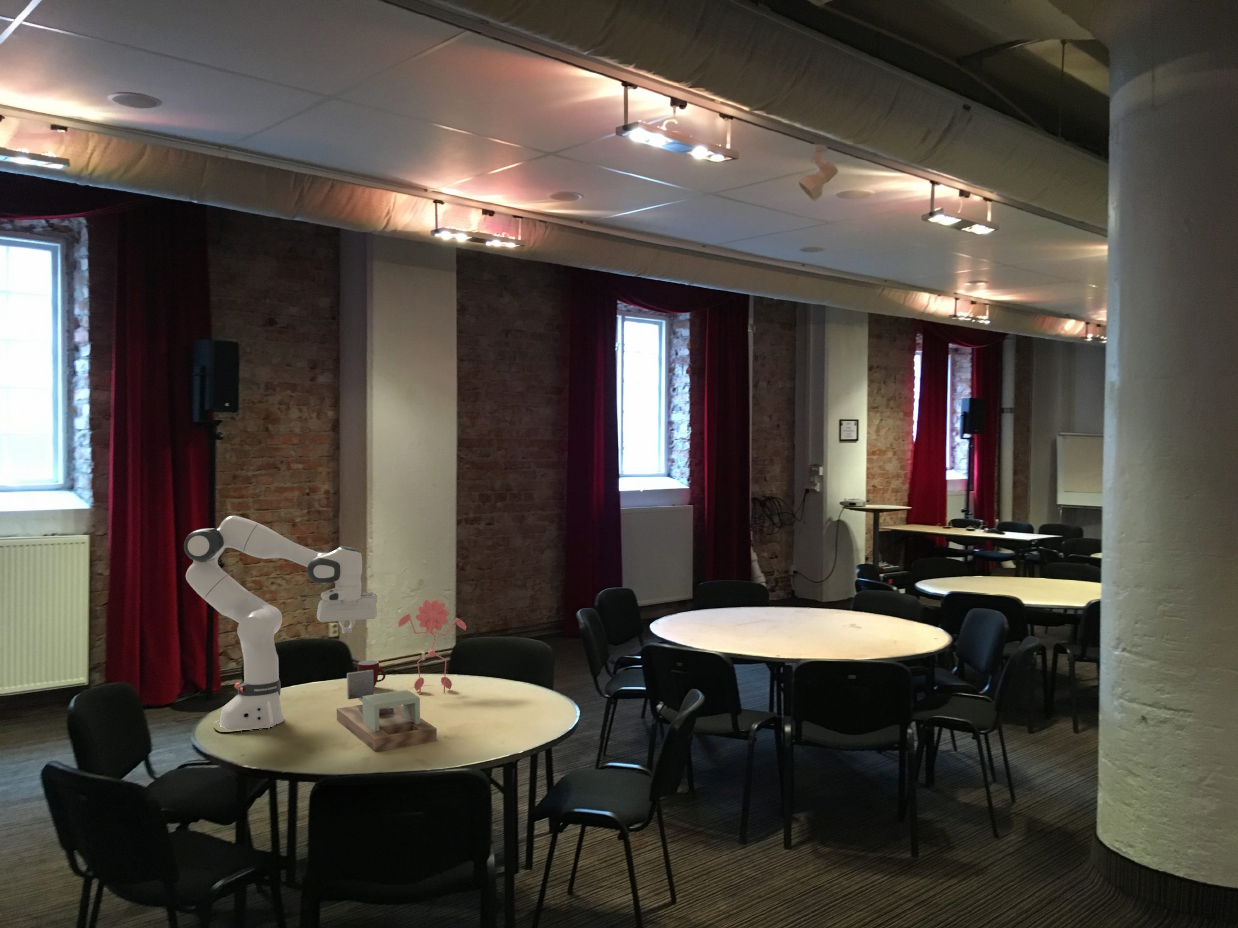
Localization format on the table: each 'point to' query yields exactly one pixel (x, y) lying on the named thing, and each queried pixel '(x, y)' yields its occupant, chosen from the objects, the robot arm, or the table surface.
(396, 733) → the walnut deck
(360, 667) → the mug
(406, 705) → the tunnel
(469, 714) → the table surface
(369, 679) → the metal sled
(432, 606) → the pink flower toy
